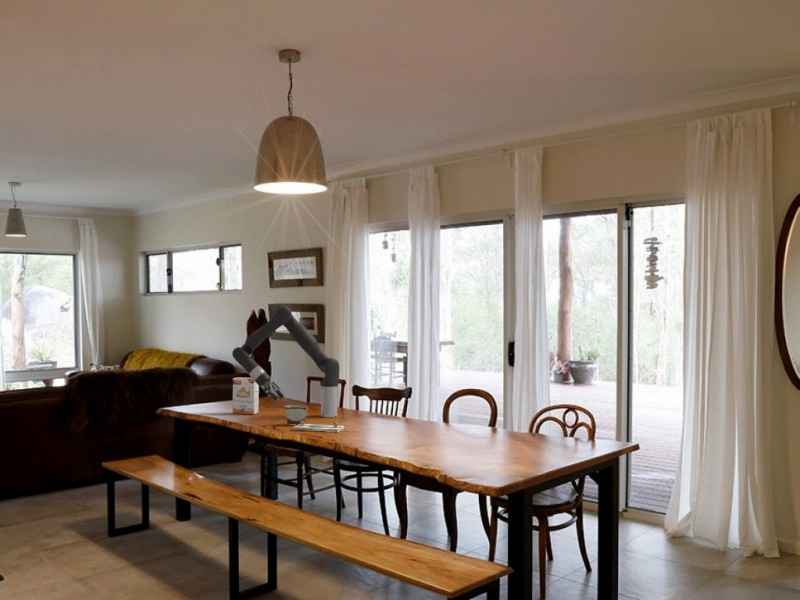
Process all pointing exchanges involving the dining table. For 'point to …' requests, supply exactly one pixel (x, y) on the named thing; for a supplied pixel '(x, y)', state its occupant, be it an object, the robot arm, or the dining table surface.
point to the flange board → (318, 427)
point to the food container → (295, 414)
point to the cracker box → (245, 396)
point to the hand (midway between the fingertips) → (279, 398)
